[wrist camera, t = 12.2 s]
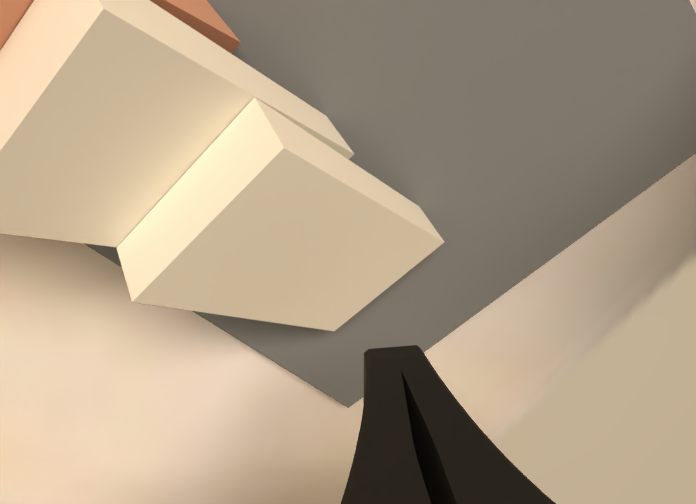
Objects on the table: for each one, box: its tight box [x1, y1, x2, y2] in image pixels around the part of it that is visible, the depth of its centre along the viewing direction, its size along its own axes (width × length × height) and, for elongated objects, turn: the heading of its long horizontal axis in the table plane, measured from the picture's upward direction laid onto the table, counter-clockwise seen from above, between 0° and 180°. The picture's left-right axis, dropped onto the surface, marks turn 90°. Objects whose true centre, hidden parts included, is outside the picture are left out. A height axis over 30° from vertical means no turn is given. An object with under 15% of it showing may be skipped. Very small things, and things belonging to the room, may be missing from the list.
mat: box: [84, 0, 696, 408], centre depth 14 cm, size 18×26×1 cm
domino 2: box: [117, 97, 444, 331], centre depth 14 cm, size 5×2×8 cm
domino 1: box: [0, 0, 354, 247], centre depth 12 cm, size 5×2×8 cm
